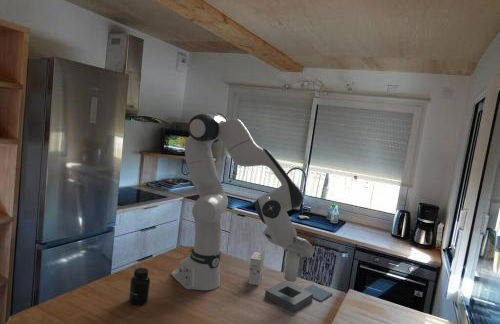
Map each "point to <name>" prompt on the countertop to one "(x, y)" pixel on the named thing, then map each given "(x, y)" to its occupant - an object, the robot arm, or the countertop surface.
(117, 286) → the countertop surface
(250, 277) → the ink cartridge box
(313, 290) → the rubber mat
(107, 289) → the countertop surface
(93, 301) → the countertop surface
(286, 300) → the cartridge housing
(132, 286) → the supplement bottle
